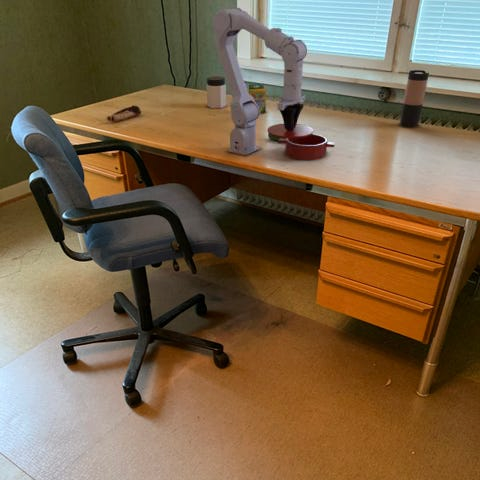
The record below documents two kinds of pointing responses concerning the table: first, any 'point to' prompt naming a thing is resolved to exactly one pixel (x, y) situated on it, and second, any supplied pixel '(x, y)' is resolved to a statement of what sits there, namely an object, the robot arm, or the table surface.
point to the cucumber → (274, 137)
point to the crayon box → (258, 96)
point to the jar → (216, 92)
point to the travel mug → (413, 98)
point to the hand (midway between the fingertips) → (290, 128)
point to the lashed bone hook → (125, 114)
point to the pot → (306, 147)
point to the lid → (290, 131)
